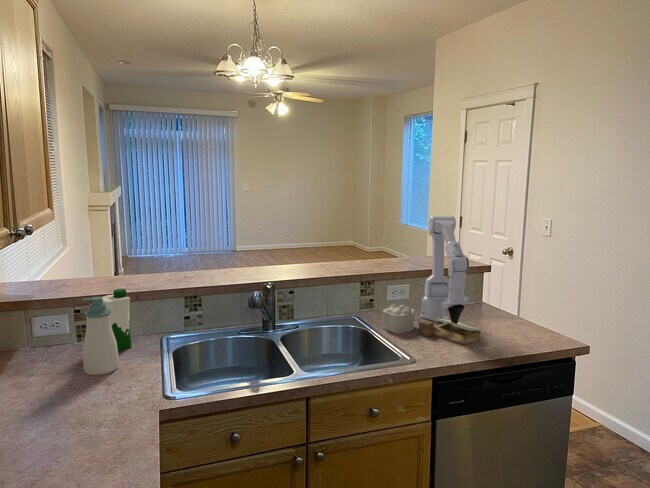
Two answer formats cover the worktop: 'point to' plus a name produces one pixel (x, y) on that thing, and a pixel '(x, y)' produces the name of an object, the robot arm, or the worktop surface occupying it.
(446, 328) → the box
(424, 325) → the walnut block
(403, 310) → the lumpy-topped squat cylinder
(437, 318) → the lid
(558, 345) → the worktop surface
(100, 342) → the soap bottle
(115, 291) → the milk carton
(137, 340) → the worktop surface
